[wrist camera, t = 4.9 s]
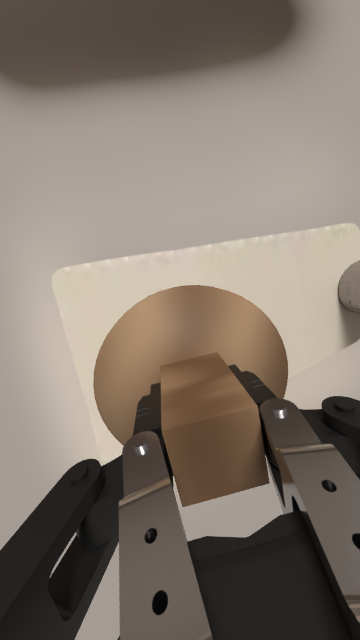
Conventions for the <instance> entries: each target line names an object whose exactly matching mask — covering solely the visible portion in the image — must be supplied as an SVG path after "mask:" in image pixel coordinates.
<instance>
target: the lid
mask: <svg viewBox="0 0 360 640" xmlns="http://www.w3.org/2000/svg"><path fill="white" fill-rule="evenodd" d="M233 364H235V365H236V366H237V367H238V368H239V369H240V371H241V372H243V371H249V372H251V373H254V374H255V375H256V376H257V377H258V378H259V379H260V380H261V381H262V382H263V383H264V385H266V386H267V387H268V388H269V389H270V390H271V391H272V392H273V393H274V394H275V395H276V396H277V397H278V398H279V399H283V398H284V395H285V391H286V386H287V379H288V361H287V356H286V350H285V347H284V344H283V341H282V339H281V337H280V335H279V333H278V331H277V329H276V327H275V326H274V325H273V323H272V322H271V320H270V319H269V318H268V317H267V316H266V315H265V314H264V313H263V311H262V310H260V309H259V308H258V307H257V306H255V305H254V304H253V303H252V302H250V301H248V300H246V299H245V298H243V297H241V296H239V295H237V294H234V293H232V292H229V291H226V290H222V289H218V288H214V287H209V286H200V285H191V286H180V287H174V288H170V289H166V290H163V291H160V292H157V293H155V294H153V295H151V296H148V297H147V298H145V299H143V300H142V301H140V302H138V303H137V304H135V305H134V306H133V307H132V308H131V309H129V310H128V311H127V312H126V313H125V314H124V315H123V316H122V317H121V318H120V319H119V320H118V321H117V323H116V324H115V325H114V326H113V328H112V329H111V331H110V332H109V333H108V335H107V336H106V338H105V340H104V342H103V344H102V346H101V348H100V351H99V354H98V357H97V360H96V365H95V370H94V394H95V400H96V404H97V407H98V410H99V413H100V415H101V417H102V420H103V421H104V423H105V425H106V426H107V428H108V429H109V431H110V432H111V433H112V434H113V436H114V437H115V438H116V439H117V440H118V441H119V442H120V443H121V444H122V445H123V446H124V445H125V443H126V442H127V441H128V440H129V439H130V438H131V437H132V436H133V430H134V424H135V418H136V412H137V406H138V402H139V401H140V400H141V398H142V397H143V396H146V395H150V388H151V385H152V384H156V383H160V382H161V427H162V434H163V438H164V442H165V445H166V449H167V453H168V456H169V460H170V463H171V467H172V471H173V474H174V478H175V482H176V485H177V489H178V492H179V496H180V500H181V503H182V507H185V506H189V505H193V504H196V503H200V502H203V501H207V500H211V499H214V498H218V497H222V496H225V495H229V494H232V493H236V492H240V491H243V490H247V489H250V488H254V487H258V486H262V485H265V484H268V483H269V477H268V470H267V464H266V457H265V451H264V444H263V438H262V431H261V424H260V418H259V411H258V406H257V405H256V403H255V402H254V401H253V399H252V398H251V397H250V395H249V394H248V393H247V391H246V390H245V389H244V387H243V386H242V385H241V383H240V382H239V380H238V379H237V378H236V376H235V375H234V374H233V372H232V371H231V370H230V368H229V367H228V366H229V365H233Z"/></svg>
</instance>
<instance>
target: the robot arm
mask: <svg viewBox="0 0 360 640" xmlns="http://www.w3.org/2000/svg"><path fill="white" fill-rule="evenodd" d="M339 298H340V300H341V303H342V304H343V305H344V307H346V308H347V309H348V310H350V311H354V312H359V313H360V261H358V262H356V263H354V264H353V265H351V266H350V267H349V268H348V269H347V270H346V271H345V273H344V274H343V276H342V278H341V280H340V284H339ZM228 367H229V368H230V370H231V371H232V372H233V374H234V375H235V376H236V378H237V379H238V380H239V382H240V383H241V385H242V386H243V387H244V389H245V390H246V391H247V393H248V394H249V395H250V397H251V398H252V399H253V401H254V402H255V403H256V405H257V406H258V411H259V418H260V424H261V431H262V438H263V444H264V451H265V455H266V457H267V462H268V468H269V471H270V474H271V476H272V479H273V483H274V486H275V489H276V491H277V495H278V497H279V501H280V503H281V507H282V509H283V512H284V514H283V515H280V516H278V517H277V518H275V519H274V520H272V521H271V522H269V523H268V524H267V525H265V526H264V527H262V528H261V529H259V530H258V531H257V532H255V533H254V534H252V535H251V536H249V537H246V538H237V537H213V536H206V537H202V538H199V539H195V540H192V541H188V542H187V538H186V535H185V531H184V527H183V524H182V520H181V517H180V513H179V510H178V506H177V502H176V498H175V495H174V491H173V476H174V474H173V471H172V467H171V463H170V460H169V456H168V453H167V449H166V445H165V442H164V438H163V434H162V427H161V382H160V383H156V384H152V385H151V388H150V395H146V396H143V397H142V398H141V400H140V401H139V402H138V406H137V412H136V418H135V424H134V430H133V436H132V437H131V438H130V439H129V440H128V441H127V442H126V443H125V445H124V447H123V450H122V455H121V456H119V457H118V458H116V459H114V460H113V461H111V462H109V463H107V464H105V465H103V466H101V465H100V463H99V461H97V460H96V459H87V460H83V461H81V462H79V463H77V464H75V465H74V466H73V467H71V468H70V469H69V470H68V471H67V472H66V473H65V474H64V475H63V476H62V478H61V479H60V480H59V481H58V482H57V484H56V485H55V486H54V487H53V488H52V490H51V491H50V492H49V493H48V494H47V495H46V497H45V498H44V499H43V500H42V501H41V503H40V504H39V505H38V506H37V507H36V509H35V510H34V511H33V512H32V513H31V515H30V516H29V517H28V518H27V519H26V521H25V522H24V523H23V524H22V525H21V527H20V528H19V529H18V530H17V531H16V533H15V534H14V535H13V536H12V537H11V538H10V540H9V541H8V542H7V543H6V545H5V546H4V547H3V548H2V549H1V550H0V640H74V639H75V637H76V635H77V633H78V630H79V628H80V626H81V624H82V622H83V619H84V617H85V615H86V613H87V611H88V608H89V606H90V604H91V602H92V599H93V597H94V595H95V593H96V591H97V588H98V586H99V584H100V582H101V580H102V577H103V575H104V573H105V571H106V569H107V566H108V564H109V562H110V560H111V557H112V555H113V553H114V551H115V548H116V546H117V544H118V542H119V600H120V636H119V638H118V640H360V401H358V400H355V399H352V398H349V397H342V396H333V397H329V398H326V399H325V400H323V402H322V409H319V410H318V409H317V410H301V409H298V407H297V406H296V405H295V404H294V403H292V402H290V401H288V400H285V399H279V398H278V397H277V396H276V395H275V394H274V393H273V392H272V391H271V390H270V389H269V388H268V387H267V386H266V385H264V383H263V382H262V381H261V380H260V379H259V378H258V377H257V376H256V375H255V374H254V373H251V372H249V371H243V372H241V371H240V369H239V368H238V367H237V366H236V365H235V364H233V365H229V366H228ZM75 532H76V534H77V535H76V537H75V538H74V540H73V542H72V543H71V545H70V546H69V548H68V550H67V551H66V553H65V555H64V556H63V558H62V559H61V561H60V563H59V564H58V566H57V567H56V569H55V571H54V573H53V574H52V576H51V577H50V575H51V572H52V569H53V568H54V566H55V564H56V562H57V561H58V559H59V557H60V556H61V554H62V552H63V551H64V549H65V548H66V546H67V545H68V543H69V541H70V540H71V538H72V537H73V535H74V533H75ZM49 578H50V579H49Z"/></svg>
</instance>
